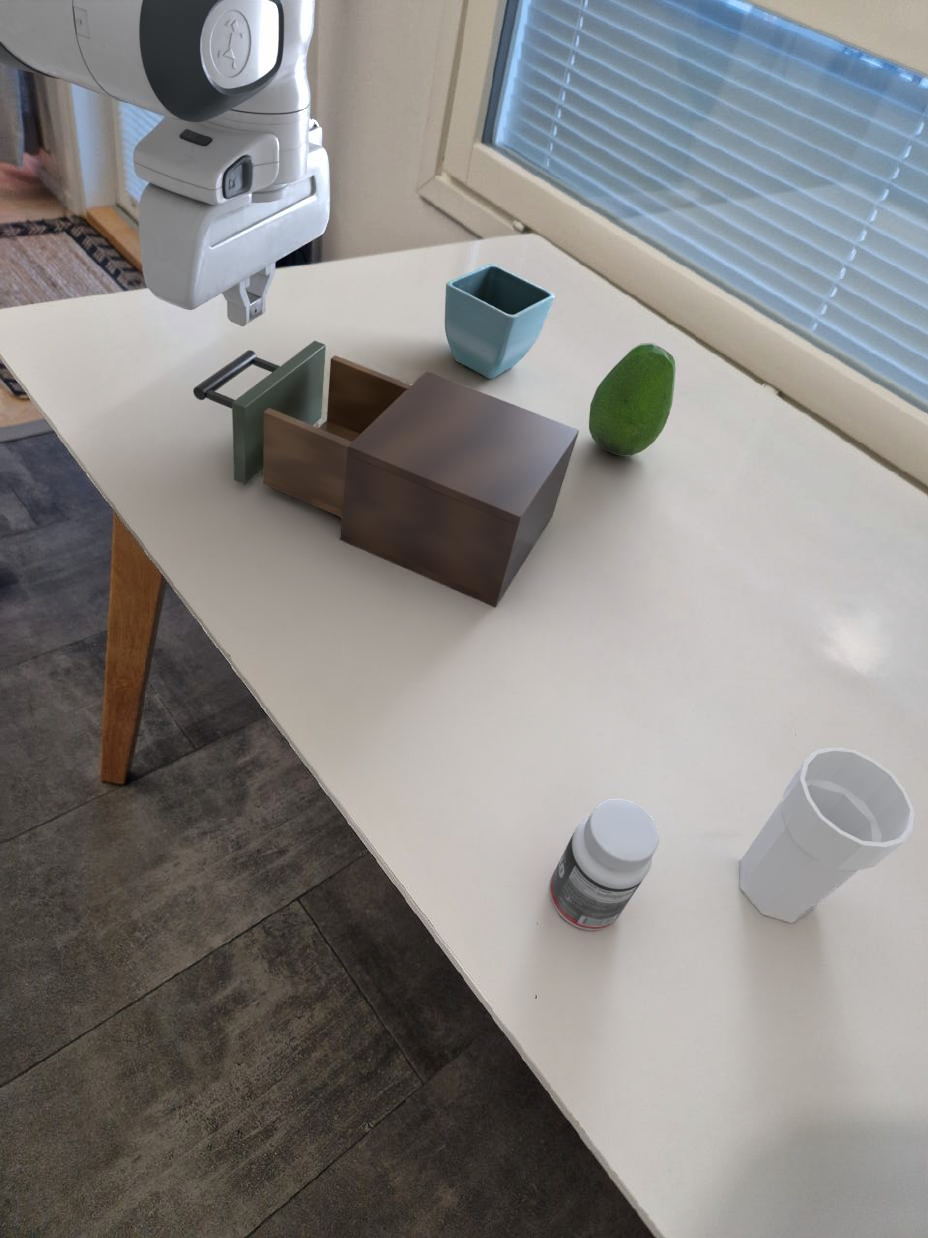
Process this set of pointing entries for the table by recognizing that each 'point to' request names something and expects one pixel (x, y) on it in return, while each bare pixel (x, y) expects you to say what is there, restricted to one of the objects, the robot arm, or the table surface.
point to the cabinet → (455, 485)
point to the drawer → (301, 421)
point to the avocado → (633, 401)
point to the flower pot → (493, 318)
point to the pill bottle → (604, 864)
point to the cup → (825, 832)
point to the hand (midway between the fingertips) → (246, 317)
